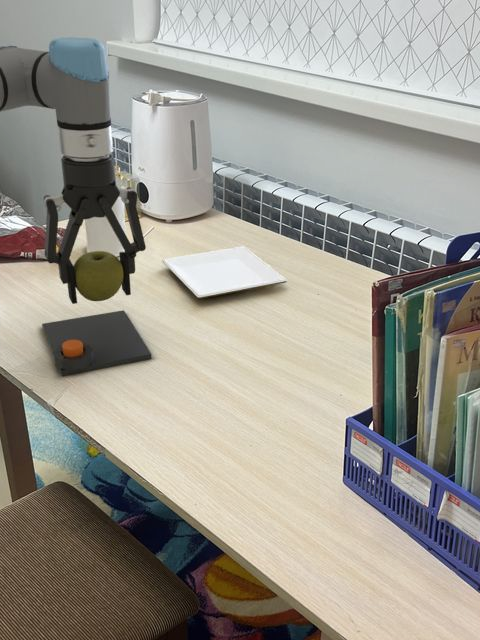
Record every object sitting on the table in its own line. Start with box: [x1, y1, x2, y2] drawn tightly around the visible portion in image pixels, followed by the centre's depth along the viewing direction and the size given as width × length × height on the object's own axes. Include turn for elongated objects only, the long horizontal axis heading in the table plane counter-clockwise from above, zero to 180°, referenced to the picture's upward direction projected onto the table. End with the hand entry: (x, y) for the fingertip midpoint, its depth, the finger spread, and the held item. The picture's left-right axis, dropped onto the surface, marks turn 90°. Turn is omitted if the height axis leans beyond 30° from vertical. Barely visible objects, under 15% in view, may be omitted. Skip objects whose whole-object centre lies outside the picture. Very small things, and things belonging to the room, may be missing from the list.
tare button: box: [62, 340, 83, 357], centre depth 105 cm, size 3×3×2 cm
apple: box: [73, 251, 124, 302], centre depth 110 cm, size 8×8×7 cm
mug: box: [84, 197, 127, 258], centre depth 144 cm, size 12×8×12 cm
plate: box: [161, 245, 288, 300], centre depth 135 cm, size 19×19×2 cm
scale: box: [41, 309, 152, 377], centre depth 112 cm, size 16×14×2 cm
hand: (100, 295), depth 112 cm, fingers closed on apple, 8 cm apart
